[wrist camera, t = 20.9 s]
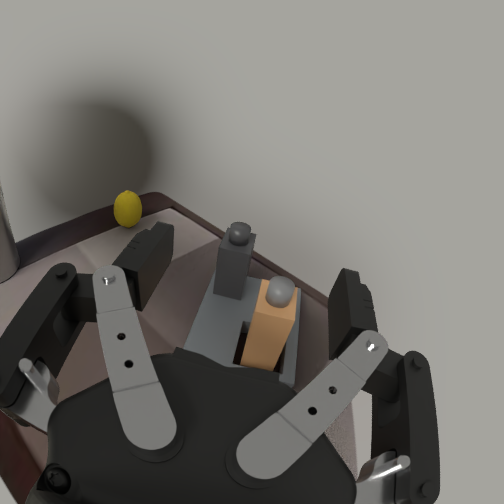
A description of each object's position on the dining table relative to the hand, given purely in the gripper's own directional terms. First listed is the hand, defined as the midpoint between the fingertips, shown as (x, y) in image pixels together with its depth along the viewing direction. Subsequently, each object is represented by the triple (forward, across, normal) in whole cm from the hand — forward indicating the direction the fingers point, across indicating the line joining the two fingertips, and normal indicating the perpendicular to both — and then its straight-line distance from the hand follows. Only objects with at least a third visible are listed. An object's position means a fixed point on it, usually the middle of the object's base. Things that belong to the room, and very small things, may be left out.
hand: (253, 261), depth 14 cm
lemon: (+32, +25, +25) cm, 48 cm away
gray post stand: (+15, -1, +24) cm, 28 cm away
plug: (+11, -3, +24) cm, 27 cm away
